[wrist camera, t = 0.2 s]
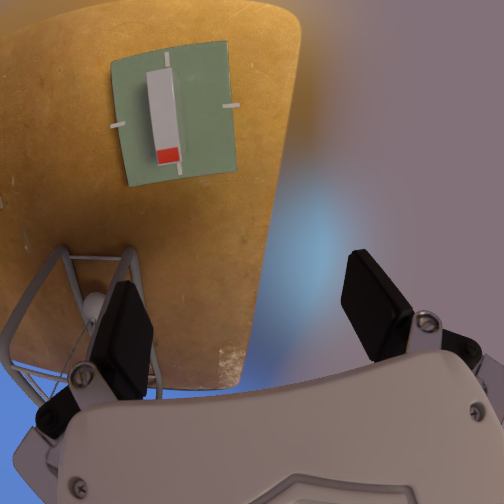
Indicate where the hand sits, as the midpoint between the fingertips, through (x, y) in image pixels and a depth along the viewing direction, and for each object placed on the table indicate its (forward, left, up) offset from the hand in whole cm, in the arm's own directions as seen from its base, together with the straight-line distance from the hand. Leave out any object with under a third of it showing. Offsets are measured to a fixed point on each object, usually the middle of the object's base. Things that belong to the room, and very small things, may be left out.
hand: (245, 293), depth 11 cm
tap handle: (-7, -4, -15) cm, 17 cm away
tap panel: (-7, -4, -18) cm, 19 cm away
